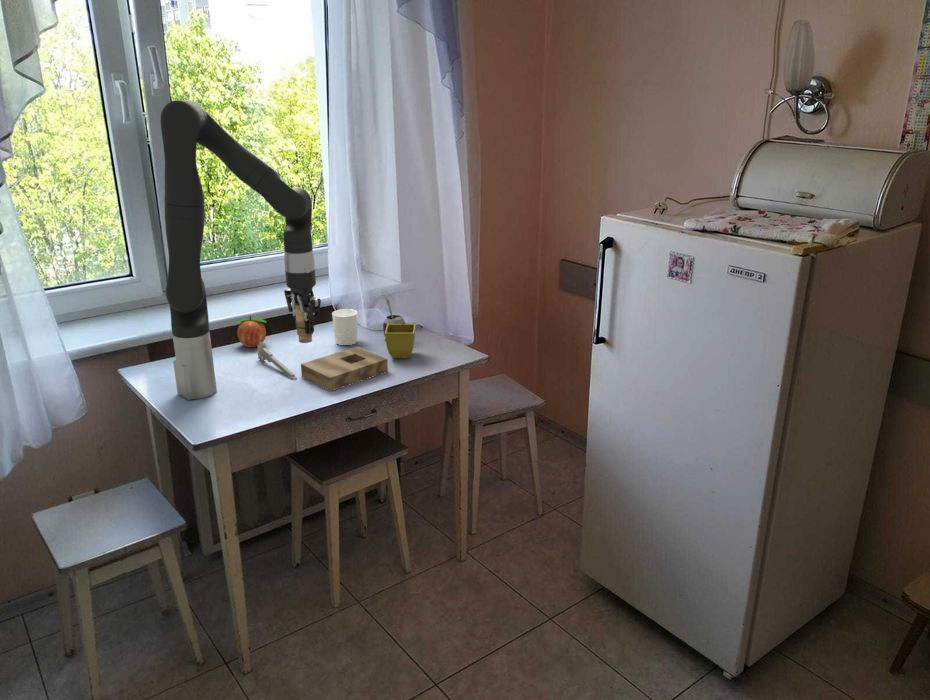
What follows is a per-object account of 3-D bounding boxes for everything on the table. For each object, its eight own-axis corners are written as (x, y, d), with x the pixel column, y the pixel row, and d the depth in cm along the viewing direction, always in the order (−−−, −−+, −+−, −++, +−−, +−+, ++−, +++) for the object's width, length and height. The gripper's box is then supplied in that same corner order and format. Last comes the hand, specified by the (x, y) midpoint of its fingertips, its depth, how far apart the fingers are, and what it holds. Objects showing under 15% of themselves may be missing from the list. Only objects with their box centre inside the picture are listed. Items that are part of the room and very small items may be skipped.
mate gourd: (404, 344, 239) (403, 299, 234) (379, 344, 239) (377, 299, 234) (407, 336, 246) (406, 292, 240) (382, 336, 246) (381, 292, 241)
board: (330, 391, 205) (329, 377, 203) (301, 376, 214) (300, 363, 213) (387, 371, 218) (387, 358, 217) (358, 358, 227) (357, 346, 226)
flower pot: (388, 350, 234) (387, 323, 231) (416, 350, 234) (415, 323, 231) (385, 361, 226) (384, 332, 223) (414, 361, 226) (414, 333, 223)
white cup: (334, 338, 244) (332, 309, 240) (359, 337, 245) (357, 308, 241) (333, 347, 236) (331, 317, 233) (358, 346, 237) (357, 316, 234)
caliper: (258, 360, 226) (256, 341, 224) (261, 360, 227) (259, 340, 225) (293, 381, 212) (292, 360, 210) (297, 380, 213) (295, 359, 211)
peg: (303, 344, 197) (300, 308, 193) (294, 340, 200) (291, 304, 196) (316, 340, 200) (313, 304, 196) (307, 337, 202) (305, 301, 199)
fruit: (263, 350, 233) (261, 320, 229) (233, 350, 233) (229, 319, 230) (271, 341, 241) (268, 311, 238) (241, 340, 241) (238, 311, 238)
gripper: (272, 265, 195) (277, 328, 201) (302, 276, 185) (307, 341, 191) (297, 260, 200) (302, 321, 206) (328, 270, 190) (332, 334, 196)
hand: (304, 330), depth 199 cm, fingers closed on peg, 4 cm apart
